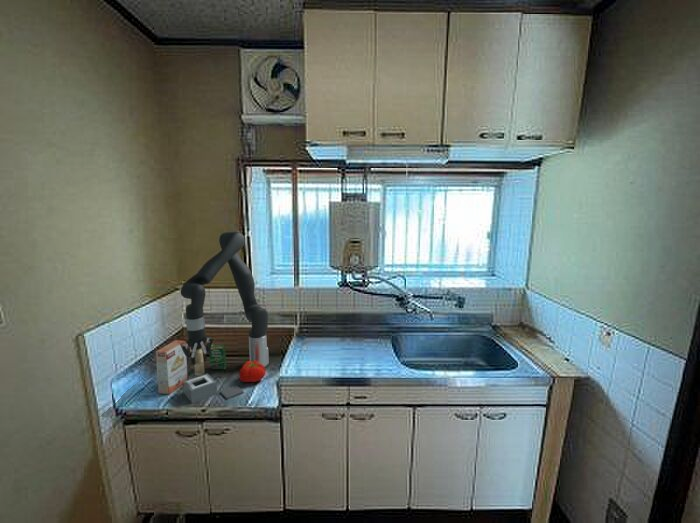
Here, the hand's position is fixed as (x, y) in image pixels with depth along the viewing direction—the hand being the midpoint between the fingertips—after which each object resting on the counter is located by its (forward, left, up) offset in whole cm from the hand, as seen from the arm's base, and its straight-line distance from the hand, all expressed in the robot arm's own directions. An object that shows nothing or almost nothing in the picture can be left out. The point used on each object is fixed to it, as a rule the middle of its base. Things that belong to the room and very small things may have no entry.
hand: (198, 362), depth 151 cm
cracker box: (+7, -15, -16) cm, 23 cm away
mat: (-11, +9, -15) cm, 21 cm away
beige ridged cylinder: (0, 0, -5) cm, 5 cm away
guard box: (0, 0, -15) cm, 15 cm away
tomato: (-24, +5, -16) cm, 29 cm away
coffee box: (-16, -19, -16) cm, 29 cm away
